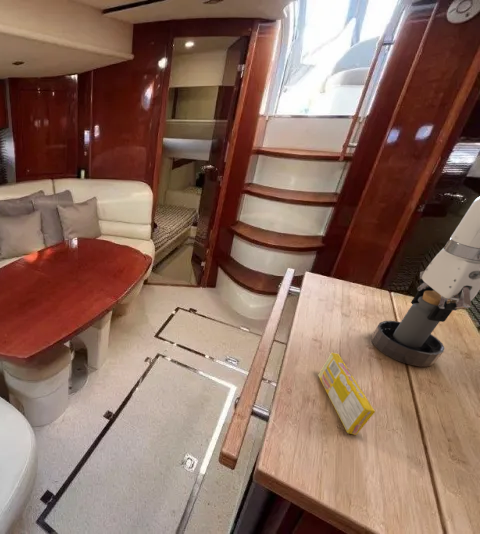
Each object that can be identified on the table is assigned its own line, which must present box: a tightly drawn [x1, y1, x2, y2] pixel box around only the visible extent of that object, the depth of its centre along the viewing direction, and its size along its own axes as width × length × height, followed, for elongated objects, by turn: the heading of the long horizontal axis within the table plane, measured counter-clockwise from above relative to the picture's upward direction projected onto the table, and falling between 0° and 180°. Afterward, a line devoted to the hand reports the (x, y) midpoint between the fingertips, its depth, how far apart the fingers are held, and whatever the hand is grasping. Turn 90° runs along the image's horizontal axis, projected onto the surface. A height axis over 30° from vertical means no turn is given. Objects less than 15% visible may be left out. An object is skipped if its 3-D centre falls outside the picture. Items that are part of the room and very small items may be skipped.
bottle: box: [393, 291, 452, 348], centre depth 80 cm, size 6×6×15 cm
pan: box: [370, 320, 445, 367], centre depth 84 cm, size 13×13×5 cm
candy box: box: [317, 352, 376, 436], centre depth 69 cm, size 16×2×8 cm, turn 165°
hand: (426, 311), depth 78 cm, fingers closed on bottle, 5 cm apart
